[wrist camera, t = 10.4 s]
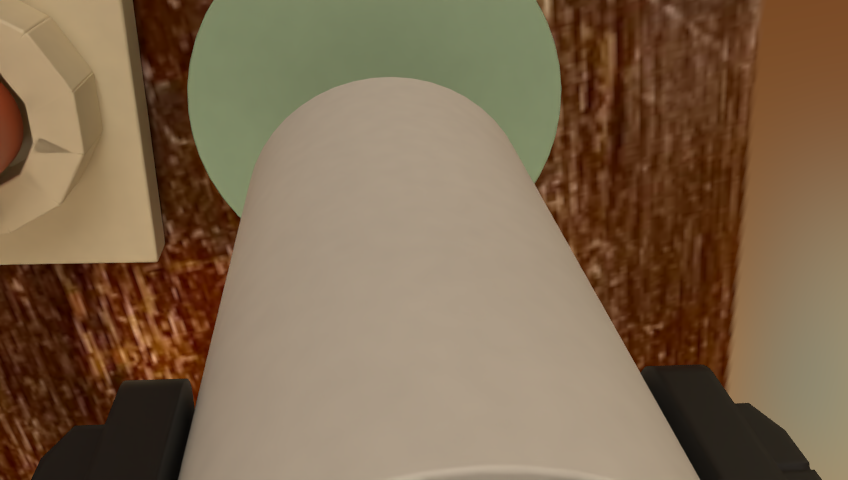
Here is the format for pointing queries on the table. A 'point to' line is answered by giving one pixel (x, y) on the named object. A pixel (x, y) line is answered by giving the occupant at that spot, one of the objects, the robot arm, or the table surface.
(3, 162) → the red button
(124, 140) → the push button box
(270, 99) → the green round disc
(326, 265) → the beige tall cylinder
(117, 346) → the table surface
